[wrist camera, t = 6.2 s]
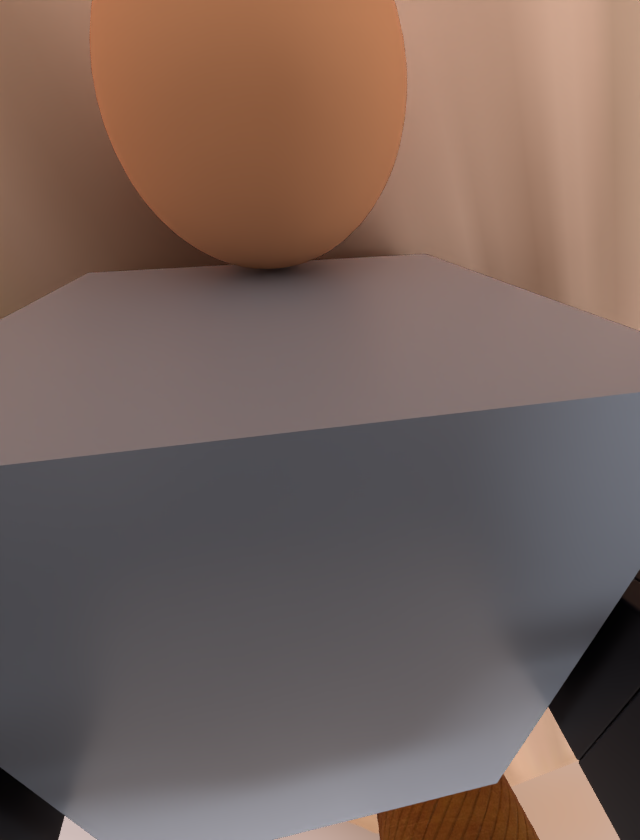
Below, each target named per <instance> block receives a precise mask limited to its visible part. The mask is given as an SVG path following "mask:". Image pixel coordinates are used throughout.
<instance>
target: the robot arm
mask: <svg viewBox="0 0 640 840" xmlns="http://www.w3.org/2000/svg"><path fill="white" fill-rule="evenodd" d="M548 707H549V709H550V711H551V713H552V714H553V716H554V718H555V720H556V722H557V724H558V725H559V727H560V729H561V731H562V733H563V735H564V736H565V738H566V740H567V742H568V744H569V746H570V747H571V749H572V751H573V753H574V755H575V757H576V758H577V759H578V760H579V764H580V766H581V768H582V770H583V772H584V774H585V775H586V777H587V779H588V781H589V783H590V785H591V786H592V788H593V790H594V792H595V794H596V796H597V797H598V799H599V801H600V803H601V805H602V806H603V808H604V810H605V812H606V814H607V816H608V817H609V819H610V821H611V823H612V825H613V827H614V828H615V830H616V832H617V834H618V836H619V838H620V840H640V570H639V571H638V573H637V574H636V576H635V577H634V579H633V580H632V582H631V583H630V585H629V586H628V588H627V589H626V591H625V592H624V594H623V595H622V597H621V598H620V600H619V601H618V603H617V604H616V606H615V607H614V609H613V610H612V612H611V613H610V615H609V616H608V618H607V619H606V621H605V622H604V624H603V625H602V627H601V628H600V630H599V631H598V633H597V634H596V636H595V637H594V639H593V640H592V642H591V643H590V645H589V646H588V648H587V649H586V651H585V652H584V654H583V655H582V657H581V658H580V660H579V661H578V663H577V664H576V665H575V667H574V668H573V670H572V671H571V673H570V674H569V676H568V677H567V679H566V680H565V682H564V683H563V685H562V686H561V688H560V689H559V691H558V692H557V694H556V695H555V697H554V698H553V700H552V701H551V703H550V704H549V706H548ZM64 816H65V815H64V814H62V813H61V812H60V811H58V810H57V809H56V808H54V807H53V806H52V805H50V804H49V803H48V802H46V801H45V800H44V799H42V798H41V797H40V796H38V795H37V794H36V793H34V792H33V791H32V790H30V789H29V788H27V787H26V786H25V785H23V784H22V783H21V782H19V781H18V780H17V779H15V778H14V777H13V776H11V775H10V774H9V773H7V772H6V771H5V770H3V769H2V768H1V767H0V840H58V838H59V834H60V831H61V827H62V823H63V819H64Z"/></svg>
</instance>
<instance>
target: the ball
mask: <svg viewBox="0 0 640 840" xmlns="http://www.w3.org/2000/svg"><path fill="white" fill-rule="evenodd" d="M90 54H91V69H92V75H93V81H94V86H95V92H96V98H97V102H98V105H99V109H100V112H101V116H102V119H103V123H104V126H105V129H106V131H107V134H108V136H109V139H110V141H111V144H112V146H113V149H114V151H115V153H116V155H117V157H118V159H119V161H120V163H121V165H122V167H123V168H124V170H125V172H126V174H127V176H128V178H129V180H130V181H131V183H132V184H133V186H134V187H135V189H136V190H137V191H138V193H139V194H140V196H141V197H142V199H143V200H144V201H145V202H146V204H147V205H148V206H149V207H150V208H151V210H152V211H153V212H154V213H155V214H156V215H157V216H158V217H159V218H160V219H161V220H162V221H163V222H164V223H165V224H166V225H167V226H168V227H169V228H170V229H171V230H172V231H173V232H174V233H175V234H177V235H178V236H179V237H181V238H182V239H184V240H185V241H186V242H188V243H189V244H191V245H192V246H194V247H195V248H196V249H198V250H200V251H202V252H204V253H206V254H208V255H210V256H212V257H214V258H216V259H219V260H221V261H224V262H227V263H231V264H234V265H237V266H241V267H247V268H255V269H276V268H285V267H291V266H295V265H299V264H302V263H306V262H308V261H310V260H313V259H315V258H317V257H319V256H321V255H323V254H325V253H327V252H328V251H330V250H331V249H333V248H334V247H335V246H337V245H338V244H340V243H341V242H342V241H344V240H345V239H346V238H347V237H348V236H349V235H350V234H351V233H352V232H353V231H354V230H355V229H356V228H357V227H358V226H359V225H360V224H361V223H362V222H363V220H364V219H365V218H366V216H367V215H368V214H369V212H370V211H371V210H372V208H373V207H374V205H375V203H376V202H377V200H378V198H379V196H380V195H381V193H382V191H383V189H384V188H385V185H386V183H387V181H388V178H389V176H390V174H391V171H392V169H393V166H394V163H395V159H396V156H397V153H398V149H399V146H400V141H401V136H402V130H403V125H404V120H405V110H406V98H407V66H406V57H405V49H404V40H403V34H402V30H401V25H400V21H399V17H398V12H397V8H396V5H395V2H394V0H92V5H91V19H90Z"/></svg>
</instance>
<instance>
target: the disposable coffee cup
mask: <svg viewBox="0 0 640 840" xmlns="http://www.w3.org/2000/svg"><path fill="white" fill-rule="evenodd" d="M377 819H378V824H379V835H380V840H539V838H538V836H537V834H536V832H535V830H534V828H533V826H532V825H531V823H530V821H529V820H528V818H527V816H526V814H525V812H524V810H523V808H522V807H521V805H520V803H519V802H518V799H517V797H516V795H515V794H514V792H513V790H512V789H511V787H510V785H509V783H508V781H507V779H506V778H505V776H504V774H503V775H502V776H501V778H500V779H499V781H498V782H497V783H496V784H492V785H488V786H484V787H480V788H476V789H472V790H468V791H464V792H460V793H456V794H452V795H448V796H444V797H440V798H436V799H432V800H428V801H424V802H420V803H416V804H412V805H409V806H405V807H401V808H397V809H393V810H389V811H385V812H381V813H377Z"/></svg>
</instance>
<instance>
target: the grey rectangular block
mask: <svg viewBox="0 0 640 840" xmlns="http://www.w3.org/2000/svg"><path fill="white" fill-rule="evenodd" d="M639 570H640V331H638V330H635V329H632V328H630V327H627V326H624V325H621V324H619V323H616V322H613V321H610V320H607V319H605V318H602V317H599V316H596V315H594V314H591V313H588V312H585V311H583V310H580V309H577V308H574V307H572V306H569V305H566V304H563V303H560V302H558V301H555V300H552V299H549V298H547V297H544V296H541V295H538V294H536V293H533V292H530V291H527V290H524V289H522V288H519V287H516V286H513V285H511V284H508V283H505V282H502V281H500V280H497V279H494V278H491V277H489V276H486V275H483V274H480V273H477V272H475V271H472V270H469V269H466V268H464V267H461V266H458V265H455V264H453V263H450V262H447V261H444V260H441V259H439V258H436V257H433V256H430V255H428V254H414V255H396V256H378V257H361V258H343V259H325V260H310V261H308V262H306V263H302V264H299V265H295V266H291V267H285V268H276V269H255V268H247V267H241V266H237V265H219V266H201V267H183V268H165V269H147V270H130V271H112V272H94V273H87V274H85V275H83V276H81V277H79V278H77V279H75V280H73V281H72V282H70V283H68V284H66V285H64V286H62V287H60V288H58V289H57V290H55V291H53V292H51V293H49V294H47V295H45V296H43V297H42V298H40V299H38V300H36V301H34V302H32V303H30V304H28V305H27V306H25V307H23V308H21V309H19V310H17V311H15V312H13V313H12V314H10V315H8V316H6V317H4V318H2V319H0V767H1V768H2V769H3V770H5V771H6V772H7V773H9V774H10V775H11V776H13V777H14V778H15V779H17V780H18V781H19V782H21V783H22V784H23V785H25V786H26V787H27V788H29V789H30V790H32V791H33V792H34V793H36V794H37V795H38V796H40V797H41V798H42V799H44V800H45V801H46V802H48V803H49V804H50V805H52V806H53V807H54V808H56V809H57V810H58V811H60V812H61V813H62V814H64V815H65V816H66V817H68V818H69V819H70V820H72V821H73V822H74V823H76V824H77V825H78V826H80V827H81V828H82V829H84V830H85V831H86V832H88V833H89V834H90V835H92V836H93V837H94V838H96V839H97V840H274V839H278V838H282V837H286V836H290V835H294V834H298V833H301V832H306V831H310V830H314V829H317V828H321V827H325V826H329V825H333V824H337V823H341V822H345V821H349V820H353V819H357V818H361V817H365V816H369V815H373V814H377V813H381V812H385V811H389V810H393V809H397V808H401V807H405V806H409V805H412V804H416V803H420V802H424V801H428V800H432V799H436V798H440V797H444V796H448V795H452V794H456V793H460V792H464V791H468V790H472V789H476V788H480V787H484V786H488V785H492V784H496V783H497V782H498V781H499V779H500V778H501V776H502V775H503V773H504V772H505V770H506V769H507V767H508V766H509V764H510V763H511V761H512V760H513V758H514V757H515V755H516V754H517V752H518V751H519V749H520V748H521V746H522V745H523V743H524V742H525V740H526V739H527V737H528V736H529V734H530V733H531V731H532V730H533V728H534V727H535V725H536V724H537V722H538V721H539V719H540V718H541V716H542V715H543V713H544V712H545V710H546V709H547V707H548V706H549V704H550V703H551V701H552V700H553V698H554V697H555V695H556V694H557V692H558V691H559V689H560V688H561V686H562V685H563V683H564V682H565V680H566V679H567V677H568V676H569V674H570V673H571V671H572V670H573V668H574V667H575V665H576V664H577V663H578V661H579V660H580V658H581V657H582V655H583V654H584V652H585V651H586V649H587V648H588V646H589V645H590V643H591V642H592V640H593V639H594V637H595V636H596V634H597V633H598V631H599V630H600V628H601V627H602V625H603V624H604V622H605V621H606V619H607V618H608V616H609V615H610V613H611V612H612V610H613V609H614V607H615V606H616V604H617V603H618V601H619V600H620V598H621V597H622V595H623V594H624V592H625V591H626V589H627V588H628V586H629V585H630V583H631V582H632V580H633V579H634V577H635V576H636V574H637V573H638V571H639Z"/></svg>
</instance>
